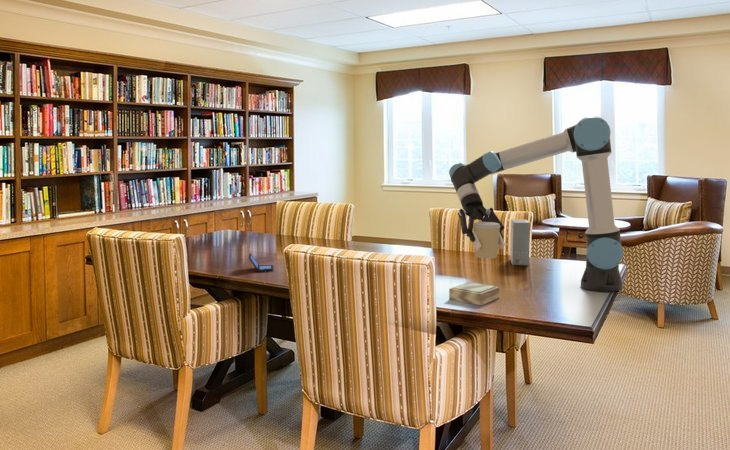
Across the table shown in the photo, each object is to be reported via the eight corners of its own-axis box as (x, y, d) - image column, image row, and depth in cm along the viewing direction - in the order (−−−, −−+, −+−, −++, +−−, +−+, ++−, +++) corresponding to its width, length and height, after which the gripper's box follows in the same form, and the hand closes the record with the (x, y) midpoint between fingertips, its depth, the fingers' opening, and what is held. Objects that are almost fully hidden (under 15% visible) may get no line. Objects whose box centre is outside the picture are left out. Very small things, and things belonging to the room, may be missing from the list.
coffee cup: (503, 255, 214) (504, 222, 213) (493, 259, 207) (494, 225, 205) (478, 253, 219) (479, 221, 218) (468, 257, 212) (469, 223, 210)
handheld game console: (273, 272, 269) (272, 256, 268) (249, 273, 267) (248, 257, 266) (273, 267, 281) (272, 251, 280) (250, 268, 279) (249, 252, 278)
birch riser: (499, 297, 215) (499, 286, 215) (481, 305, 206) (481, 293, 205) (468, 292, 224) (468, 281, 223) (449, 299, 214) (449, 287, 214)
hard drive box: (529, 265, 272) (530, 222, 270) (512, 265, 274) (512, 222, 271) (526, 259, 287) (526, 218, 285) (509, 259, 289) (510, 218, 286)
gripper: (491, 204, 229) (513, 251, 216) (440, 206, 222) (459, 255, 209) (499, 191, 223) (521, 239, 210) (447, 192, 216) (467, 242, 203)
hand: (490, 247), depth 209 cm, fingers closed on coffee cup, 9 cm apart
